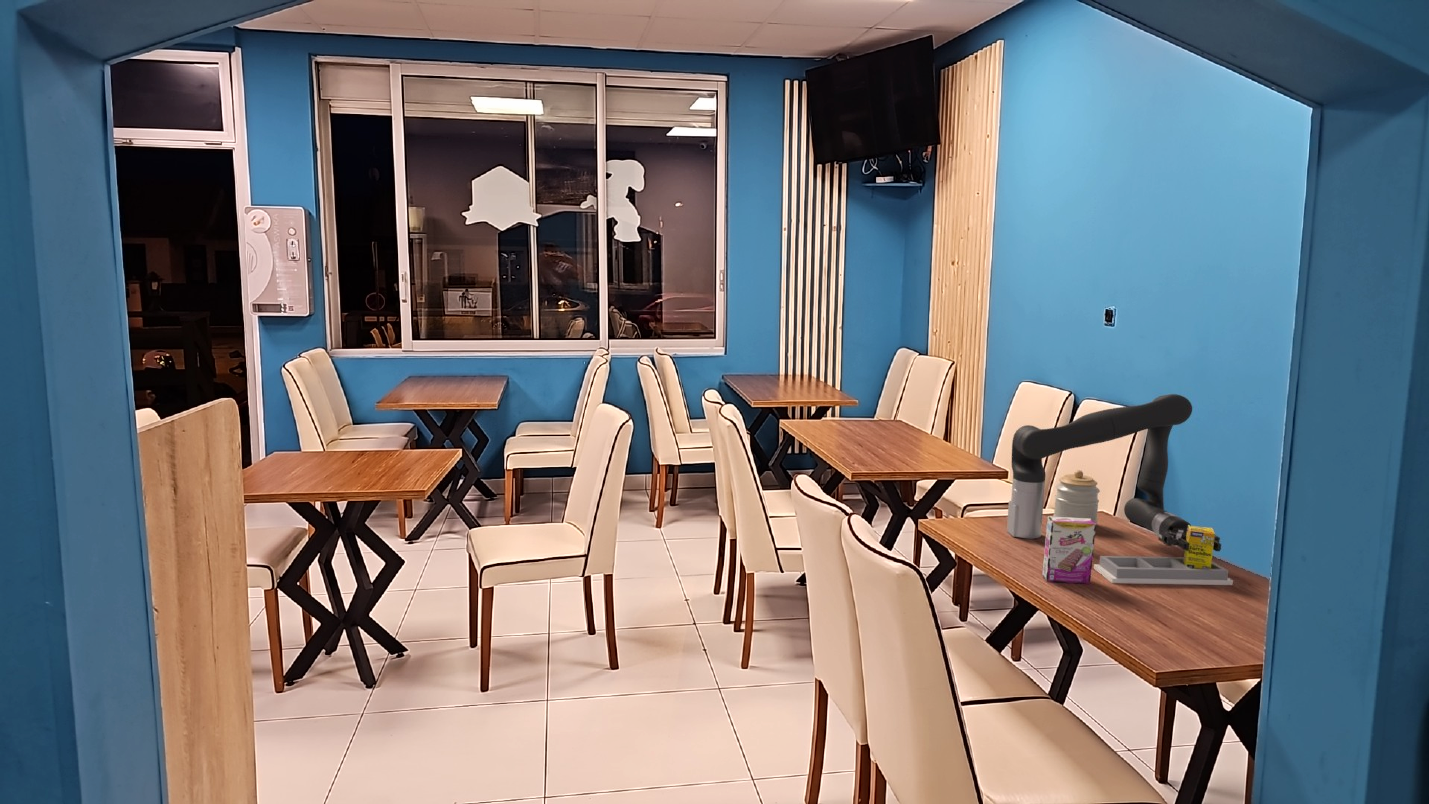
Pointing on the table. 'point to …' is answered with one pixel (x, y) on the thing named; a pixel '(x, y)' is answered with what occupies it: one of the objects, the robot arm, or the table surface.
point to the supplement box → (1199, 547)
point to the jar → (1077, 497)
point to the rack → (1159, 571)
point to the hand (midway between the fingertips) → (1203, 547)
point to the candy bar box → (1068, 549)
